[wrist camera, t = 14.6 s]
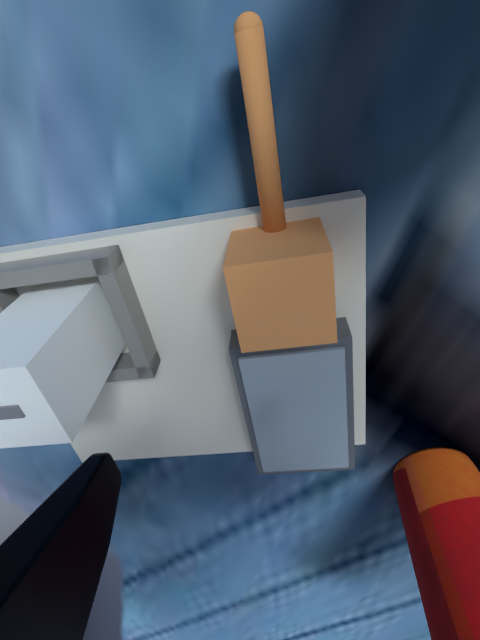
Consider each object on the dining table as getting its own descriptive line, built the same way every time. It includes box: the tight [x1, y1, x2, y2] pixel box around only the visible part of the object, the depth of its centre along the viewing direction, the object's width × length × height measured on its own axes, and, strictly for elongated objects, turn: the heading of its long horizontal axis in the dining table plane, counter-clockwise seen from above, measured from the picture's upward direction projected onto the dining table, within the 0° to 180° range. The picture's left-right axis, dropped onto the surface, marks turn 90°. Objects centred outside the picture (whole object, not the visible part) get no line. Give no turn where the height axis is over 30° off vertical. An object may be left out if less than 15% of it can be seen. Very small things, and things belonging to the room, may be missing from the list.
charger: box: [0, 278, 126, 448], centre depth 17 cm, size 4×4×7 cm
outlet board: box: [0, 190, 366, 462], centre depth 21 cm, size 20×16×3 cm
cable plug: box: [223, 11, 338, 353], centre depth 14 cm, size 4×12×4 cm, turn 10°
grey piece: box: [229, 317, 355, 475], centre depth 21 cm, size 6×10×2 cm, turn 10°
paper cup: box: [393, 447, 480, 640], centre depth 21 cm, size 8×8×14 cm
